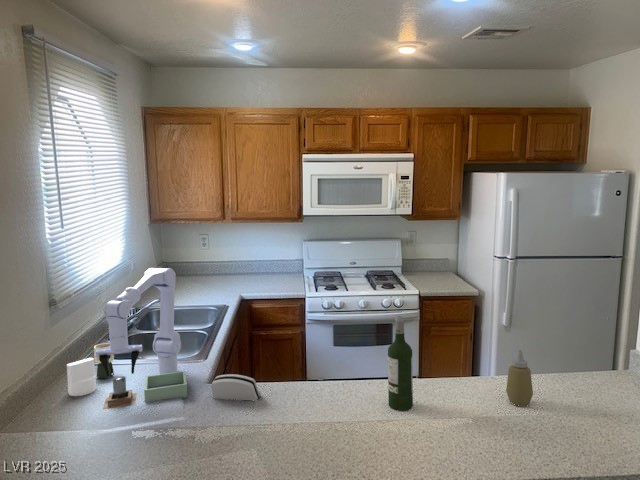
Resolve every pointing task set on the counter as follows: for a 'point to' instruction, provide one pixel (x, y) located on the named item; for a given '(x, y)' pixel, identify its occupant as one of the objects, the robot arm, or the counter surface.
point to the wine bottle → (400, 370)
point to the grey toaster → (235, 387)
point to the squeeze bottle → (519, 381)
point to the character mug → (100, 369)
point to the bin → (167, 390)
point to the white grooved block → (81, 377)
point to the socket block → (120, 400)
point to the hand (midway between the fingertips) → (120, 374)
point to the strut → (119, 387)
